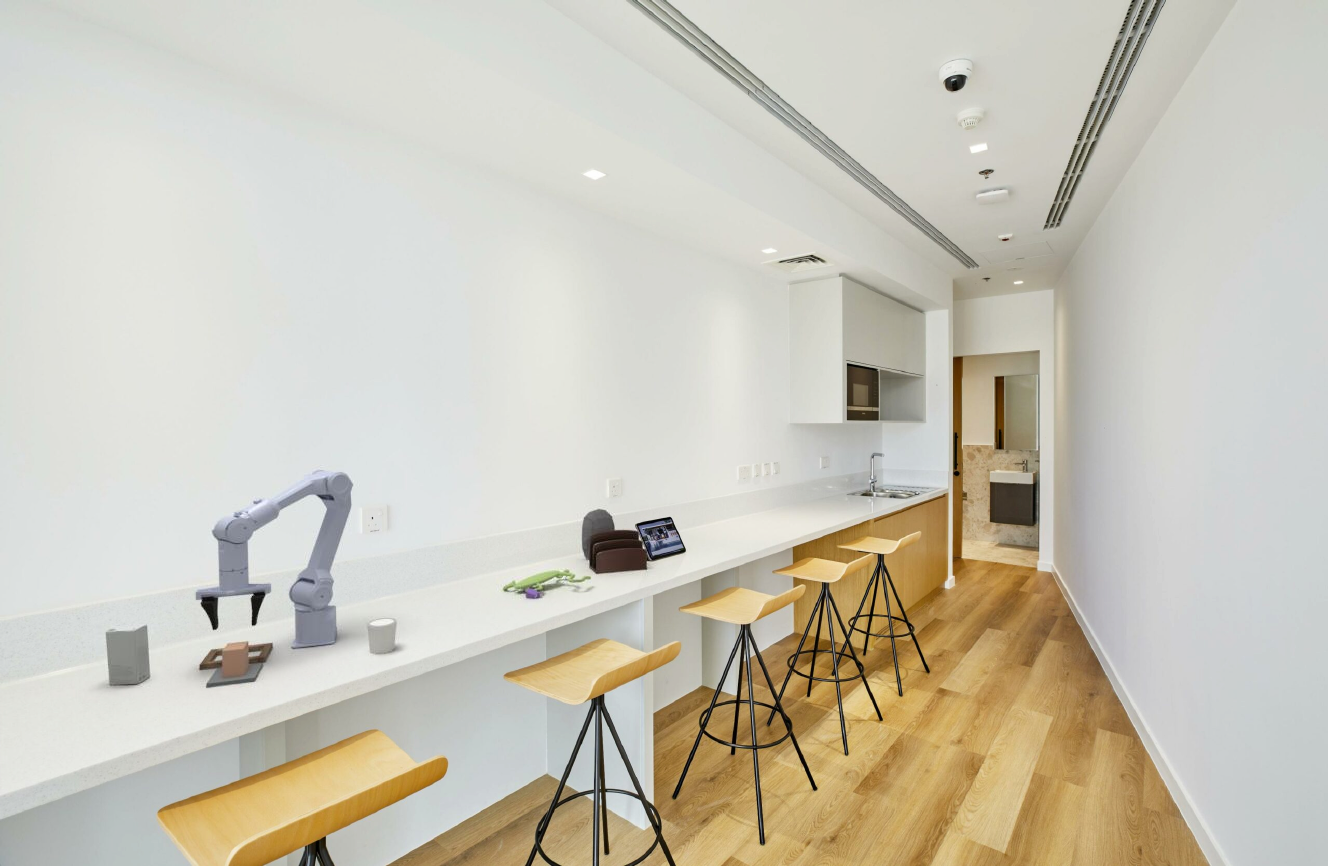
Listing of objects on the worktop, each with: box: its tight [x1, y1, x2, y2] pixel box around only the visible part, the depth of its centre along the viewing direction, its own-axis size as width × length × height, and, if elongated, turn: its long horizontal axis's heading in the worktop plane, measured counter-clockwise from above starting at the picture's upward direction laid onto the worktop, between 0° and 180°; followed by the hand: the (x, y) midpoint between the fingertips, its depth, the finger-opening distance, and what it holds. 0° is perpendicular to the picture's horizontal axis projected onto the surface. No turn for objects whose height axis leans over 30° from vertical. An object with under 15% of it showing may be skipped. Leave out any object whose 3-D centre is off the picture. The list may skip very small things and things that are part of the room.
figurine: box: [502, 568, 592, 600], centre depth 218 cm, size 18×27×6 cm
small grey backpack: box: [581, 508, 616, 559], centre depth 261 cm, size 15×8×20 cm, turn 130°
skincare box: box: [105, 624, 151, 686], centre depth 143 cm, size 6×4×12 cm
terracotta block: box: [221, 640, 250, 678], centre depth 146 cm, size 4×5×6 cm
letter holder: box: [588, 529, 648, 575], centre depth 246 cm, size 10×20×14 cm, turn 112°
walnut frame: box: [199, 642, 274, 671], centre depth 157 cm, size 13×10×1 cm
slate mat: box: [205, 662, 264, 688], centre depth 146 cm, size 9×9×1 cm
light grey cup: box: [366, 617, 398, 655], centre depth 163 cm, size 7×7×7 cm
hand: (235, 626), depth 152 cm, fingers open, 7 cm apart
